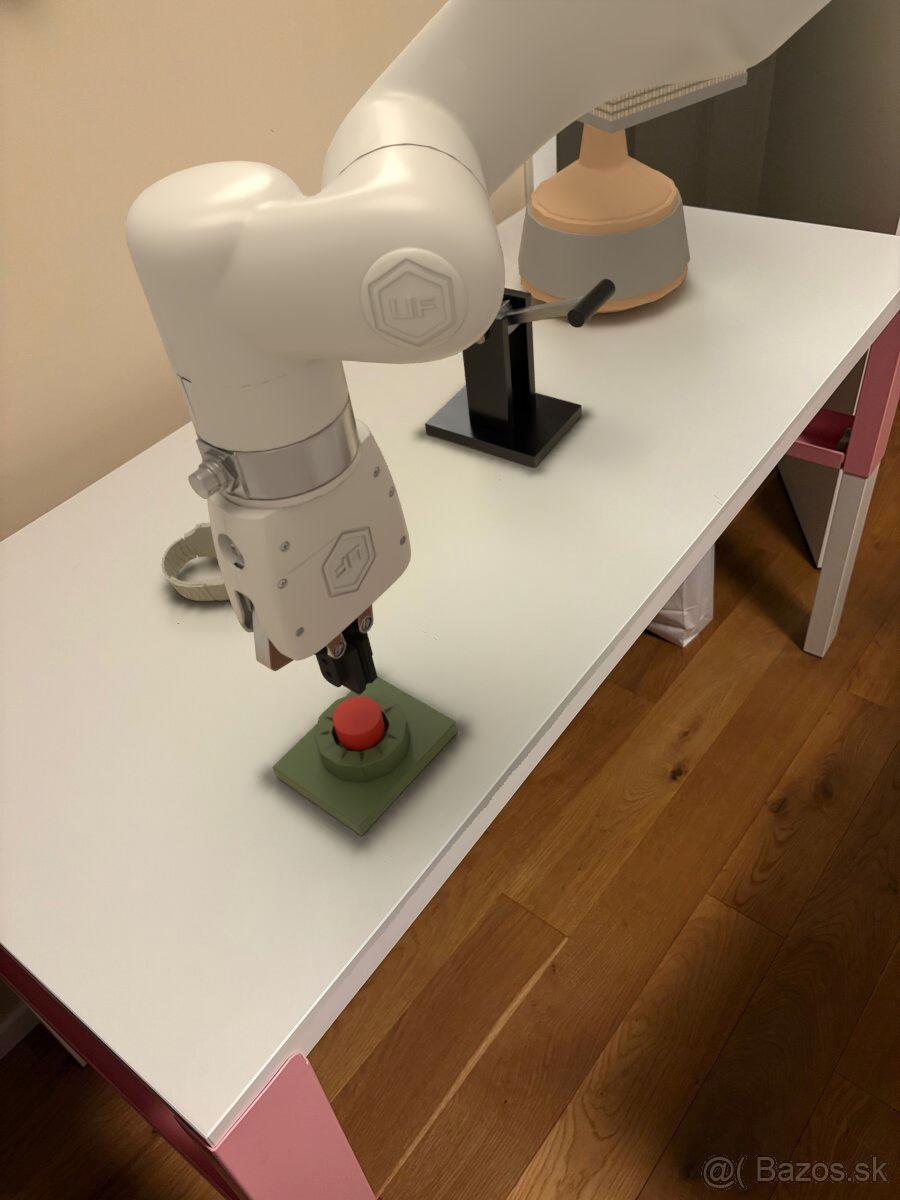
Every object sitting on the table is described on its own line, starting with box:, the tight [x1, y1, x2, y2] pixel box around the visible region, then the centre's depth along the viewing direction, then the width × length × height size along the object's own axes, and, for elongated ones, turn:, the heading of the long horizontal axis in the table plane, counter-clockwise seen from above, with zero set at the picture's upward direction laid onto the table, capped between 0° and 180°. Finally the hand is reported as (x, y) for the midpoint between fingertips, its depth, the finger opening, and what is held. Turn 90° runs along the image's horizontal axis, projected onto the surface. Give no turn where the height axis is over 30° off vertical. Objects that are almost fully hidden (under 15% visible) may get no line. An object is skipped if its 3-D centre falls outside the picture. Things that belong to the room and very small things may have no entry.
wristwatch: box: [160, 521, 230, 602], centre depth 77 cm, size 9×6×5 cm
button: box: [333, 696, 385, 751], centre depth 63 cm, size 3×3×2 cm
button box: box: [272, 676, 458, 836], centre depth 64 cm, size 10×8×3 cm
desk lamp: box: [517, 69, 748, 315], centre depth 95 cm, size 22×19×37 cm
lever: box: [498, 279, 616, 335], centre depth 80 cm, size 12×6×2 cm, turn 56°
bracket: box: [424, 287, 583, 468], centre depth 86 cm, size 12×9×13 cm
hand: (351, 677), depth 59 cm, fingers closed
